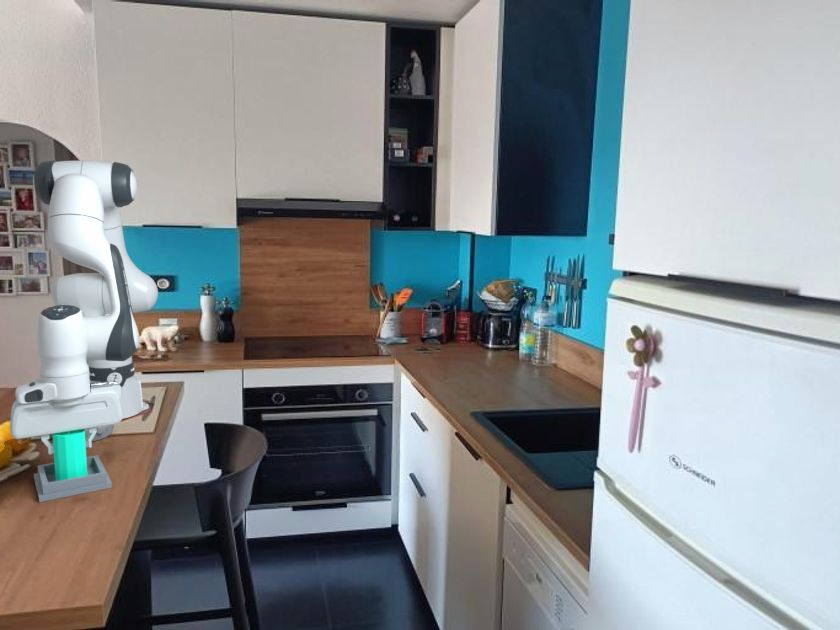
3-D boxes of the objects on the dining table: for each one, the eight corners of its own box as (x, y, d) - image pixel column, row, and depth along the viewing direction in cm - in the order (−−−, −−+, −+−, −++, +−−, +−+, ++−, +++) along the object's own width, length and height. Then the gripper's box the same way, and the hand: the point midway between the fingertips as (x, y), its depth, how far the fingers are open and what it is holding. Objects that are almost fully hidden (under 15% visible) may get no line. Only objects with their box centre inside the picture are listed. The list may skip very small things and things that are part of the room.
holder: (34, 478, 137) (33, 465, 137) (101, 465, 145) (100, 453, 144) (39, 502, 127) (38, 487, 126) (112, 487, 134) (111, 473, 133)
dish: (112, 442, 159) (111, 422, 158) (48, 448, 154) (46, 428, 153) (116, 423, 173) (115, 405, 172) (56, 428, 167) (55, 410, 167)
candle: (72, 487, 131) (69, 430, 129) (48, 483, 133) (44, 427, 131) (94, 475, 137) (91, 421, 135) (70, 472, 139) (67, 418, 137)
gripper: (118, 376, 140) (121, 436, 143) (6, 389, 129) (12, 455, 131) (123, 382, 135) (127, 446, 138) (8, 397, 124) (13, 465, 126)
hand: (70, 450), depth 134 cm, fingers closed on candle, 5 cm apart
